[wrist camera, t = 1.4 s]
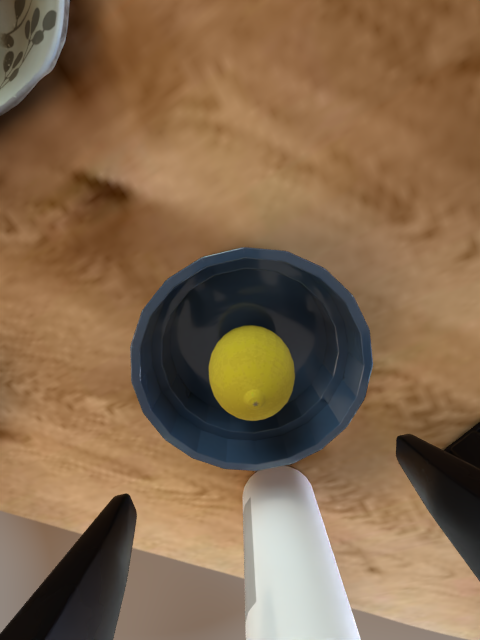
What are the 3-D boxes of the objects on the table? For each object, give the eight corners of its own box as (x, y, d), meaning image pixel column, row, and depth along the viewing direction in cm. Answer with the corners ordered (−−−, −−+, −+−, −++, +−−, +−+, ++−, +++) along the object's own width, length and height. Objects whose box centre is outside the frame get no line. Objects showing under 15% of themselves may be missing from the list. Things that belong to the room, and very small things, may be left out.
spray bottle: (228, 497, 25) (209, 1081, 7) (270, 451, 23) (371, 1034, 6) (282, 527, 26) (376, 1095, 8) (325, 484, 24) (546, 1059, 7)
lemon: (225, 384, 21) (218, 459, 13) (206, 323, 20) (186, 368, 12) (288, 368, 21) (319, 436, 13) (273, 305, 19) (298, 340, 12)
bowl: (378, 336, 20) (422, 361, 16) (255, 452, 23) (259, 504, 18) (239, 204, 18) (240, 186, 13) (119, 354, 21) (83, 384, 16)
